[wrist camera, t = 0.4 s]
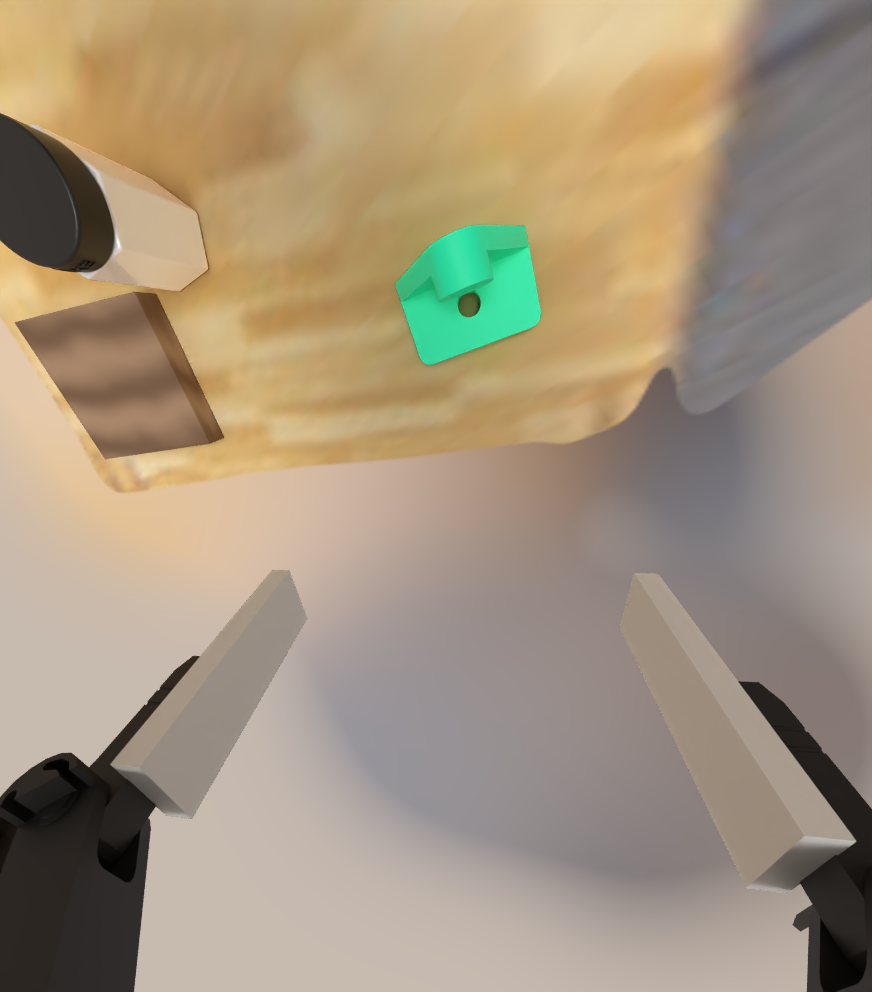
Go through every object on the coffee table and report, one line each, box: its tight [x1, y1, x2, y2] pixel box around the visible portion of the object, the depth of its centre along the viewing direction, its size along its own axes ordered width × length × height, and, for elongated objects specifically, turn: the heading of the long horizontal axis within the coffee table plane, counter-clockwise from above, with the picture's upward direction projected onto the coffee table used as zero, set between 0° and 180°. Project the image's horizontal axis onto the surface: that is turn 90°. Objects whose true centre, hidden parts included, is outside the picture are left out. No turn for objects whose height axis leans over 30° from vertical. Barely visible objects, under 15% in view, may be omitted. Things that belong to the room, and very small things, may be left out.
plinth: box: [15, 292, 224, 459], centre depth 38 cm, size 16×16×2 cm
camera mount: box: [395, 225, 541, 365], centre depth 27 cm, size 12×8×10 cm, turn 109°
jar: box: [0, 113, 208, 291], centre depth 27 cm, size 9×8×12 cm
